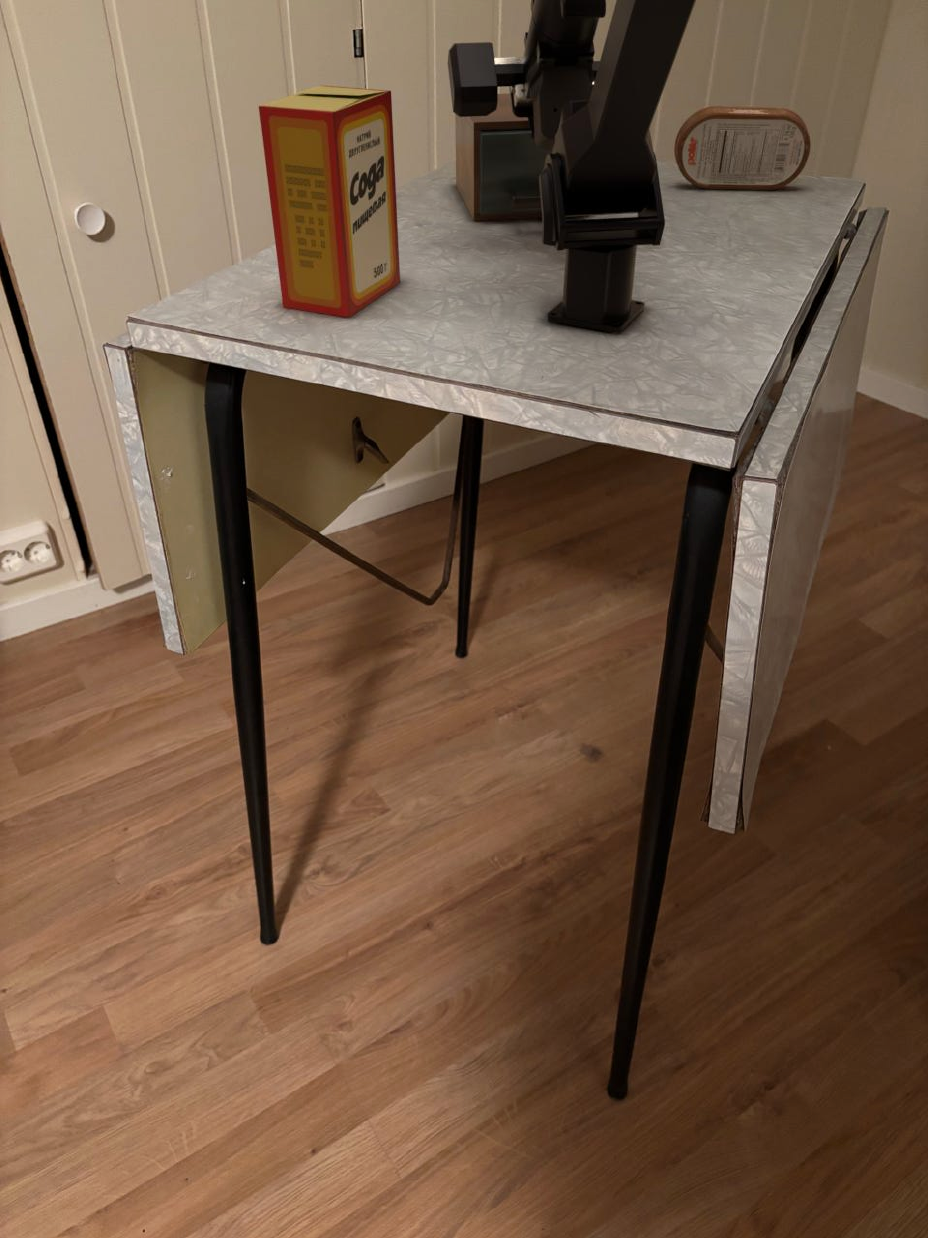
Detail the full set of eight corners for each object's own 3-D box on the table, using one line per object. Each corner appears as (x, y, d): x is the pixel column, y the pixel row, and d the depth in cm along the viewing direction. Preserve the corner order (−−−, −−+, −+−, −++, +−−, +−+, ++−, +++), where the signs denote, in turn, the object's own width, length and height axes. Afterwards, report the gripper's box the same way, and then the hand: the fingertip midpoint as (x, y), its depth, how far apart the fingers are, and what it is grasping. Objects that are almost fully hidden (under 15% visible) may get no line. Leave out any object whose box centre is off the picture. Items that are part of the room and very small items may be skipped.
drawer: (596, 221, 101) (602, 138, 96) (486, 226, 100) (487, 143, 95) (560, 178, 115) (563, 104, 110) (463, 182, 114) (463, 107, 109)
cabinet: (589, 215, 106) (595, 117, 100) (473, 221, 104) (473, 122, 99) (560, 181, 117) (565, 91, 111) (456, 185, 116) (455, 95, 110)
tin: (800, 185, 115) (815, 105, 110) (804, 192, 112) (820, 111, 107) (669, 183, 116) (678, 103, 111) (671, 190, 113) (680, 109, 108)
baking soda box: (349, 317, 83) (331, 106, 73) (283, 306, 85) (257, 100, 75) (400, 282, 89) (390, 85, 80) (338, 273, 92) (321, 80, 82)
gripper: (467, 102, 81) (453, 212, 97) (685, 94, 83) (637, 204, 98) (453, -15, 83) (442, 112, 98) (666, -20, 85) (623, 105, 100)
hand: (537, 135), depth 99 cm, fingers closed, pressing on drawer
